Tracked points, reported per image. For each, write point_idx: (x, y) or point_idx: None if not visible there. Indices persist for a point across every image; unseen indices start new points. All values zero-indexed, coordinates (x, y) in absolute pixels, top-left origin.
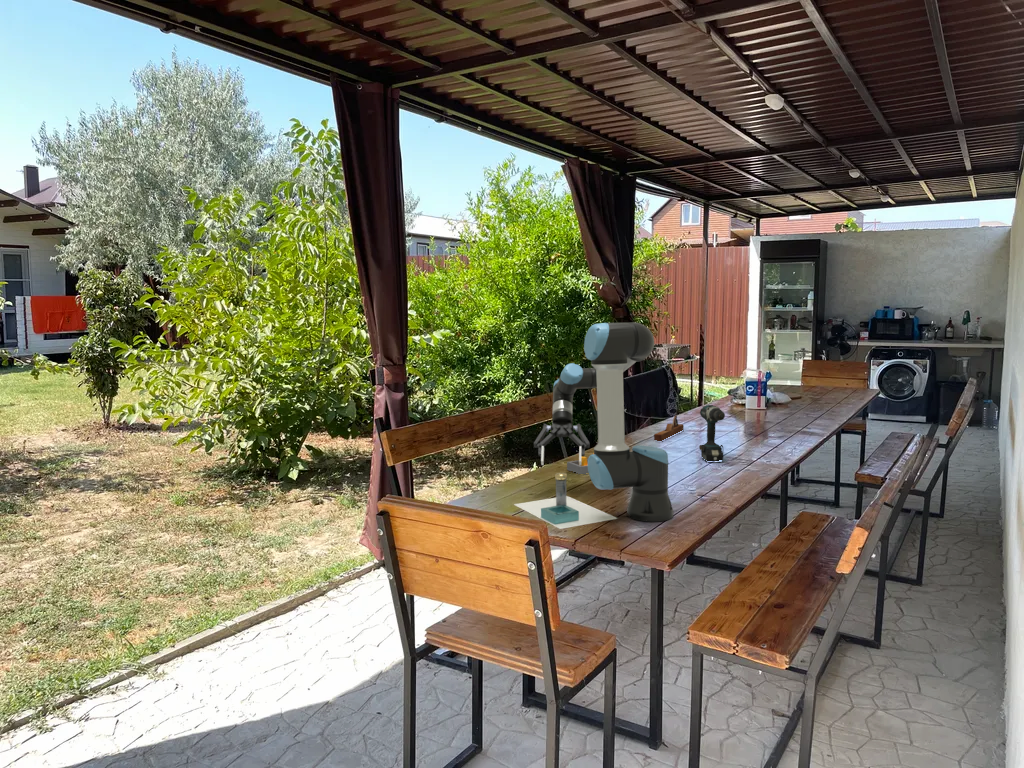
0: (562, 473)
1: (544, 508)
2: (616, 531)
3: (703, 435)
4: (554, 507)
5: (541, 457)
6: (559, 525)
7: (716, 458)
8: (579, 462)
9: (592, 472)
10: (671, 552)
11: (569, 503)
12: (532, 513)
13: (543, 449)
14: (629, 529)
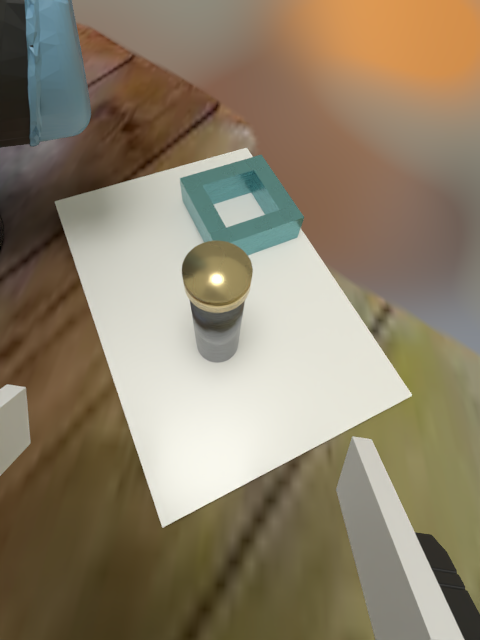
0: (205, 286)
1: (292, 214)
2: (97, 143)
3: None
4: (256, 221)
5: (381, 468)
6: None
7: None
8: (24, 403)
9: (78, 45)
10: None
11: (176, 383)
12: (327, 275)
13: (403, 563)
14: (56, 150)
